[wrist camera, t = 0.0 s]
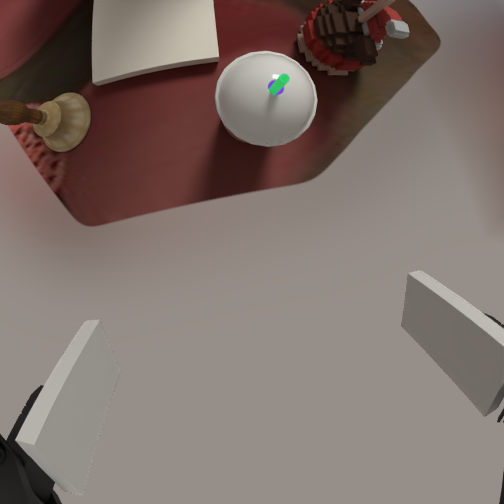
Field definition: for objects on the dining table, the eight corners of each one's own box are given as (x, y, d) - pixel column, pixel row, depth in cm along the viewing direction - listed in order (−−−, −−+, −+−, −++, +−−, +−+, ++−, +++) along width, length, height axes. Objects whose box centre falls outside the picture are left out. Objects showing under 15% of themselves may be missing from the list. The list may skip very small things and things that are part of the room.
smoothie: (235, 161, 36) (256, 167, 18) (203, 104, 34) (190, 52, 15) (293, 131, 36) (368, 113, 17) (263, 76, 33) (308, 7, 14)
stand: (99, -6, 26) (94, -12, 24) (209, -30, 27) (209, -37, 25) (98, 86, 31) (92, 83, 29) (218, 61, 32) (218, 56, 30)
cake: (290, 13, 31) (336, -59, 14) (352, 17, 31) (420, -37, 14) (303, 81, 34) (366, 34, 17) (366, 81, 35) (451, 51, 18)
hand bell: (32, 128, 31) (-42, 125, 16) (68, 81, 30) (1, 54, 15) (64, 164, 33) (-9, 175, 18) (102, 116, 32) (39, 98, 17)
